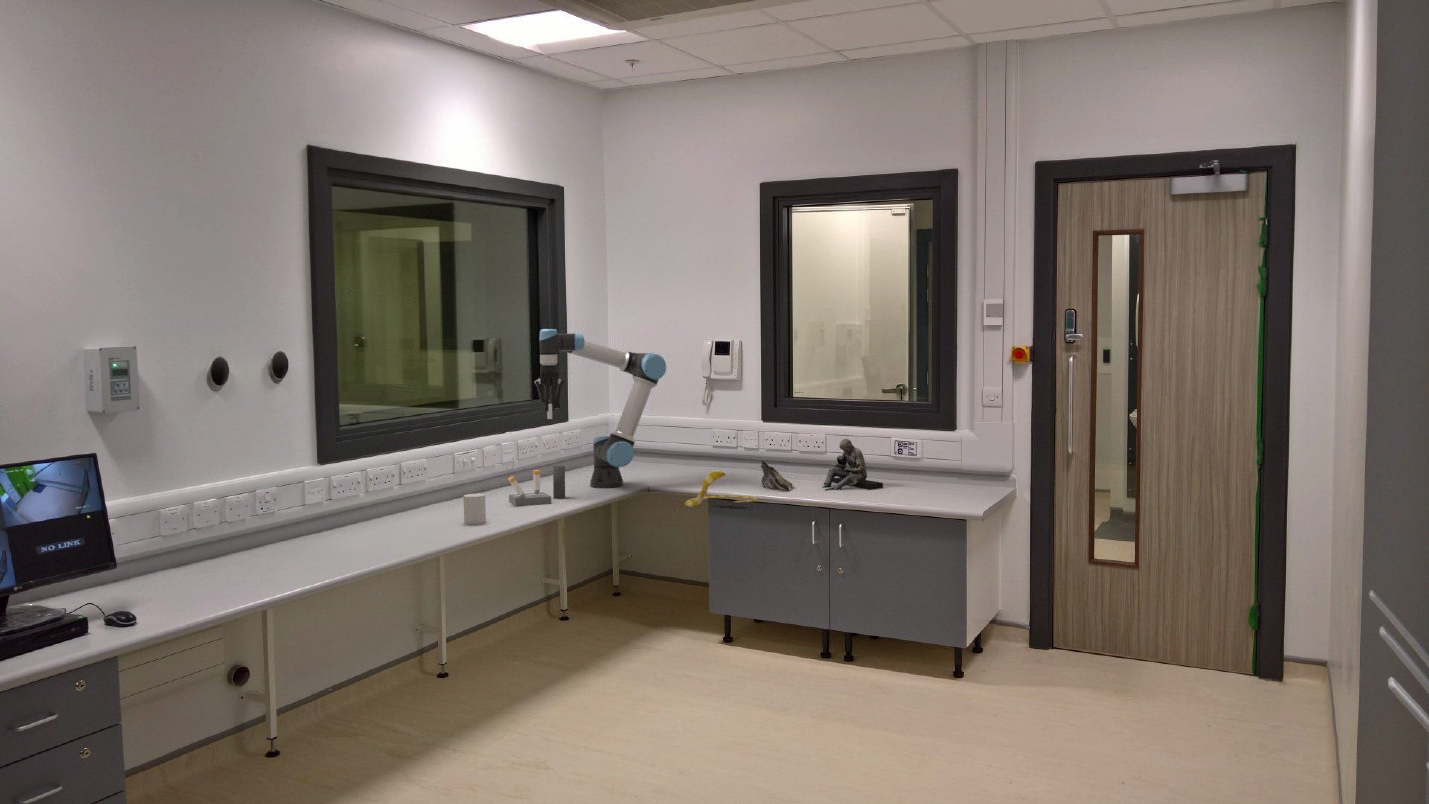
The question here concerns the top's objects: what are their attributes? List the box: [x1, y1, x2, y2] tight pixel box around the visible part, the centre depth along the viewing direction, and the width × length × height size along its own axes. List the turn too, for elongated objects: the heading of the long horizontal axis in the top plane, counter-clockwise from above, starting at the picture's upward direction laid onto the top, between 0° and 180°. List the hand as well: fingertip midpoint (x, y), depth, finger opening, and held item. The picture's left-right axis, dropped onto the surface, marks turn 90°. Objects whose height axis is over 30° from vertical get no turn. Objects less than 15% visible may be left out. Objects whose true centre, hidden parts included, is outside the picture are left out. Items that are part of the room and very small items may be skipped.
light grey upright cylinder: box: [463, 493, 487, 525], centre depth 387 cm, size 8×8×12 cm
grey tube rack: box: [508, 491, 552, 507], centre depth 424 cm, size 15×13×3 cm
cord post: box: [552, 465, 566, 500], centre depth 434 cm, size 5×5×14 cm
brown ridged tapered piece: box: [760, 460, 793, 492], centre depth 454 cm, size 22×9×28 cm
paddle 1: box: [507, 475, 526, 498], centre depth 418 cm, size 2×4×10 cm
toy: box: [684, 471, 758, 508], centre depth 416 cm, size 29×28×15 cm
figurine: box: [821, 438, 884, 492], centre depth 447 cm, size 25×24×24 cm
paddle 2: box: [532, 469, 541, 493], centre depth 429 cm, size 2×4×10 cm, turn 23°
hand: (549, 418), depth 437 cm, fingers closed
